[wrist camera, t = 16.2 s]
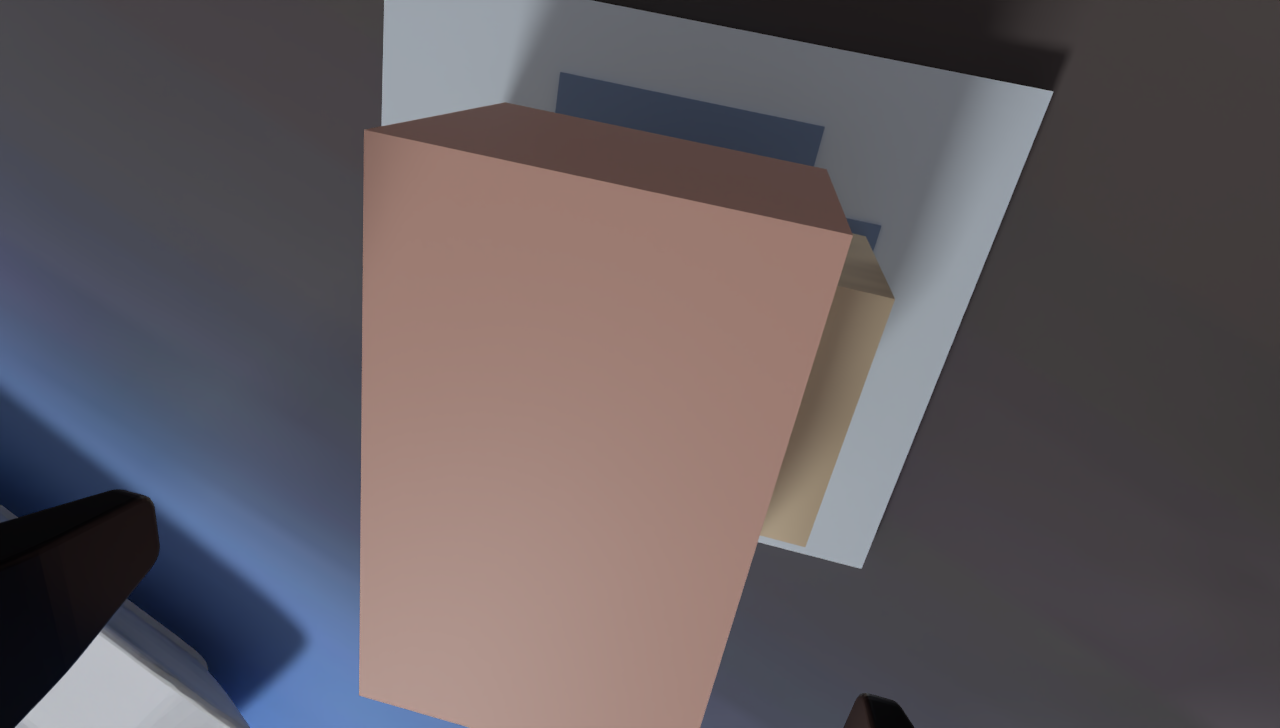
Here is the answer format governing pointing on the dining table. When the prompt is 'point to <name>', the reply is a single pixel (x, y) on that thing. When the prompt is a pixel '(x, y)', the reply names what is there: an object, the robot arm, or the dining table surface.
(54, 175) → the dining table surface
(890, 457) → the blueprint board
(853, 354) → the brick
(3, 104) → the dining table surface
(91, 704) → the tray
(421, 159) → the brick
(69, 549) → the robot arm
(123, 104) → the dining table surface
